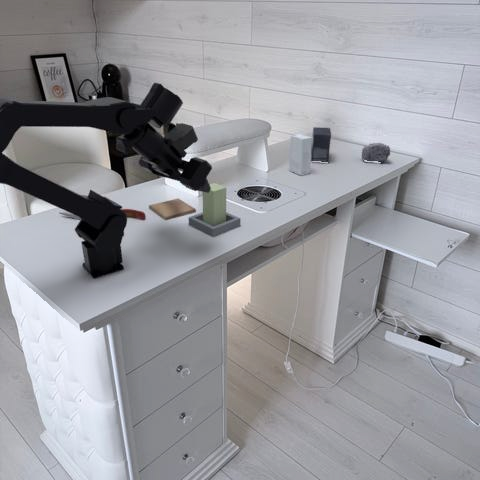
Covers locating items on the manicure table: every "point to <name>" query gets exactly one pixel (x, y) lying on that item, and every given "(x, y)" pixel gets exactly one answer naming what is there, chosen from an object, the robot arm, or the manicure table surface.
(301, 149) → the skincare box
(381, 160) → the pumice stone
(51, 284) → the manicure table surface
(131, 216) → the pliers
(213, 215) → the olive block
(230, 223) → the gray square frame
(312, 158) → the small box
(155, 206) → the walnut pad
